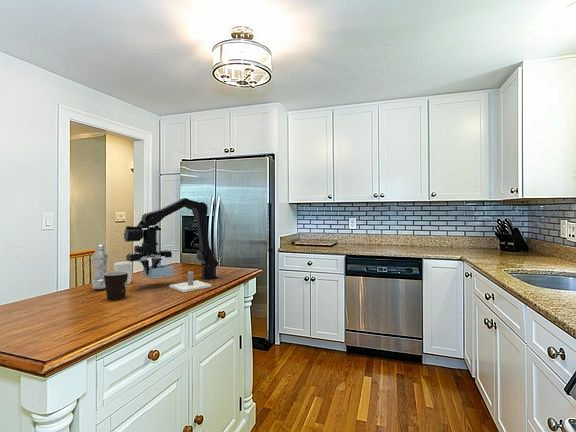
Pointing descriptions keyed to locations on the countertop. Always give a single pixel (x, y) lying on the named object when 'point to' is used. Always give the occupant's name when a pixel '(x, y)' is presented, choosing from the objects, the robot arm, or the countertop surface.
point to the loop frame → (159, 271)
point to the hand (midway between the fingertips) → (150, 274)
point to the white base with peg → (190, 284)
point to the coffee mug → (116, 285)
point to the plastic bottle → (100, 266)
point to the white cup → (124, 269)
